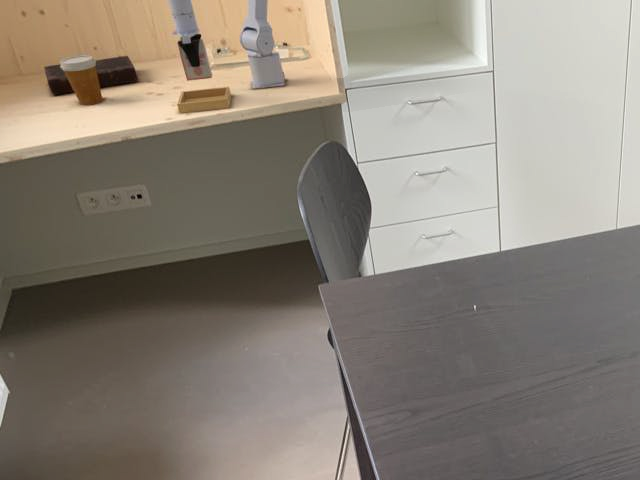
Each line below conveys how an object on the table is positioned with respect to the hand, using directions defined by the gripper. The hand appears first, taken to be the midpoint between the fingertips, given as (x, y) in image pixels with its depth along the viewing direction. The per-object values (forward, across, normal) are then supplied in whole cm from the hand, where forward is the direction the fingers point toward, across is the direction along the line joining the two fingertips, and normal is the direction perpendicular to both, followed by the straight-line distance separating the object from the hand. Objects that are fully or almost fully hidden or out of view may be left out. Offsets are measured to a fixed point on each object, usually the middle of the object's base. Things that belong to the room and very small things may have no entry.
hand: (196, 64), depth 223 cm
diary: (+11, -35, -37) cm, 52 cm away
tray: (+10, +2, 0) cm, 11 cm away
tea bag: (+4, 0, 0) cm, 4 cm away
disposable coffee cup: (+11, -13, -34) cm, 38 cm away
